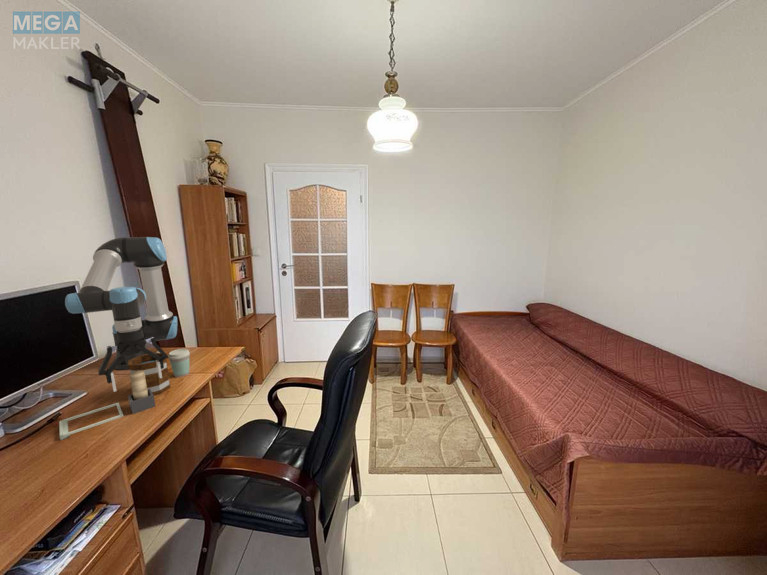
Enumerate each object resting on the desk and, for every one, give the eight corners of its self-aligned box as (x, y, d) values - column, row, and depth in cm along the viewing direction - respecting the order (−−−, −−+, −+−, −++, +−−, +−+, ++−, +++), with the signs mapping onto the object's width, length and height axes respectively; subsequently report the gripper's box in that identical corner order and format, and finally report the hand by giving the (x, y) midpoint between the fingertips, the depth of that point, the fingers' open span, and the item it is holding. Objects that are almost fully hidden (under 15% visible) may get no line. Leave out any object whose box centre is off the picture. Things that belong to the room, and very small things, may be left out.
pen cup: (130, 408, 117) (127, 395, 116) (151, 401, 122) (149, 388, 121) (133, 415, 113) (130, 402, 112) (155, 408, 117) (153, 395, 116)
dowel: (134, 406, 117) (128, 372, 114) (148, 402, 120) (142, 369, 118) (136, 411, 114) (130, 376, 111) (150, 406, 117) (145, 372, 115)
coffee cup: (196, 371, 147) (193, 348, 145) (183, 380, 139) (180, 355, 137) (180, 371, 148) (177, 347, 146) (166, 379, 140) (162, 355, 138)
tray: (60, 424, 108) (59, 421, 108) (118, 405, 119) (118, 402, 119) (60, 440, 100) (59, 436, 100) (123, 418, 111) (123, 414, 111)
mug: (164, 397, 125) (159, 363, 122) (125, 402, 121) (119, 367, 119) (181, 375, 143) (177, 345, 141) (148, 379, 140) (143, 348, 137)
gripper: (82, 340, 100) (94, 400, 104) (172, 323, 118) (179, 375, 122) (81, 335, 105) (92, 392, 109) (167, 320, 123) (174, 369, 127)
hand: (138, 383), depth 115 cm, fingers open, 13 cm apart
